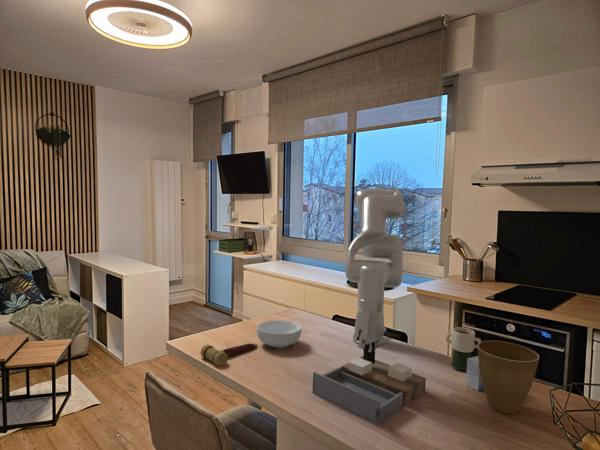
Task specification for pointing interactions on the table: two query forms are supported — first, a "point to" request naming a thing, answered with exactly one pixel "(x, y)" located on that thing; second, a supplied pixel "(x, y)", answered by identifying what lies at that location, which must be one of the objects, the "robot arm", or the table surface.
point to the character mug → (462, 346)
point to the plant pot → (506, 374)
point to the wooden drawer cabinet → (391, 381)
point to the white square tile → (360, 366)
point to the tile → (399, 372)
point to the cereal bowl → (279, 333)
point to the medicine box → (474, 374)
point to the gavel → (224, 353)
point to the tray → (357, 395)
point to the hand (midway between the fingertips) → (368, 362)
